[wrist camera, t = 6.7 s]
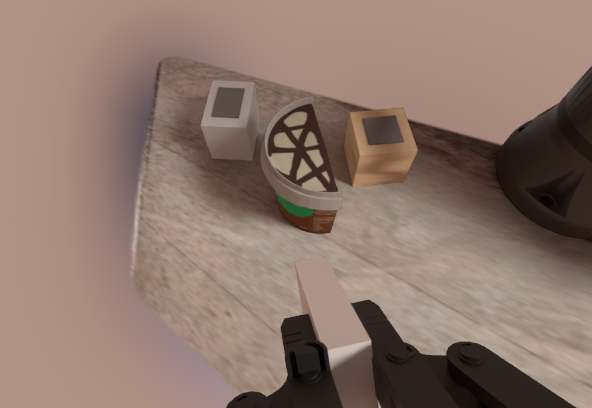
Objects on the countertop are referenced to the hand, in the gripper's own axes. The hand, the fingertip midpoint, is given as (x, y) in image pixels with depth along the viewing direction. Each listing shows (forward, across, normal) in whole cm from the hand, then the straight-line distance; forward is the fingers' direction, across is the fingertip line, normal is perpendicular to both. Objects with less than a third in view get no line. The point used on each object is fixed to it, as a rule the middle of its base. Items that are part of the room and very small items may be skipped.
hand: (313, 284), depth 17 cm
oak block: (+26, +12, 0) cm, 28 cm away
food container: (+23, +2, -2) cm, 24 cm away
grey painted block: (+31, -3, +6) cm, 31 cm away
